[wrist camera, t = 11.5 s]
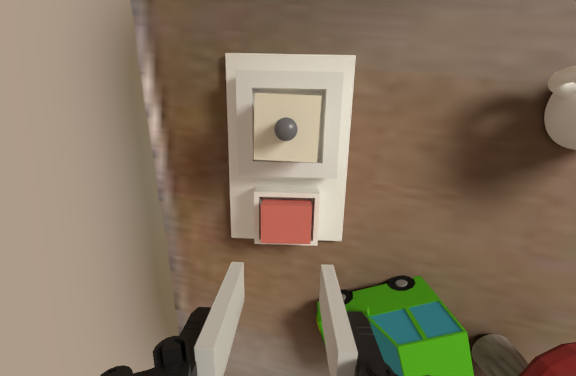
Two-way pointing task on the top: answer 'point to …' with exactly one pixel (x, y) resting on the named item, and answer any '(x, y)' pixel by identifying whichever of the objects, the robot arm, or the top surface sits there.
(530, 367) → the decorative mushroom
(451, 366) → the toy car
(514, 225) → the top surface
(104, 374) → the robot arm
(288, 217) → the switch
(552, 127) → the mug
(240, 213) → the socket plate
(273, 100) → the plug
